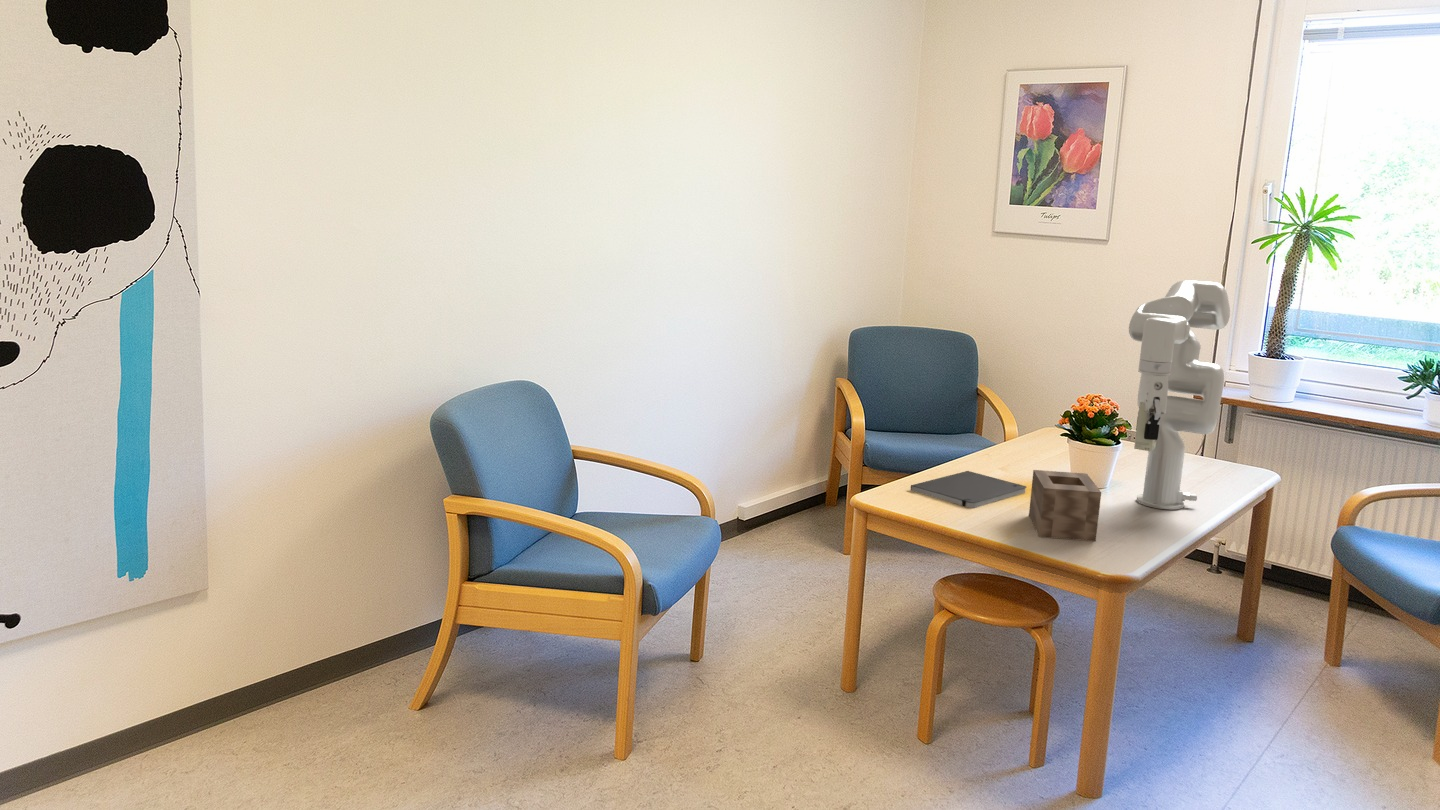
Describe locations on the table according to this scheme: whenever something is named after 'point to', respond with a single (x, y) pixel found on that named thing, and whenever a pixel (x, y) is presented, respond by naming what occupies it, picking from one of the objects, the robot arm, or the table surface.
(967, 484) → the notebook
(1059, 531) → the socket block
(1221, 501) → the table surface
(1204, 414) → the robot arm
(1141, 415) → the skincare box
